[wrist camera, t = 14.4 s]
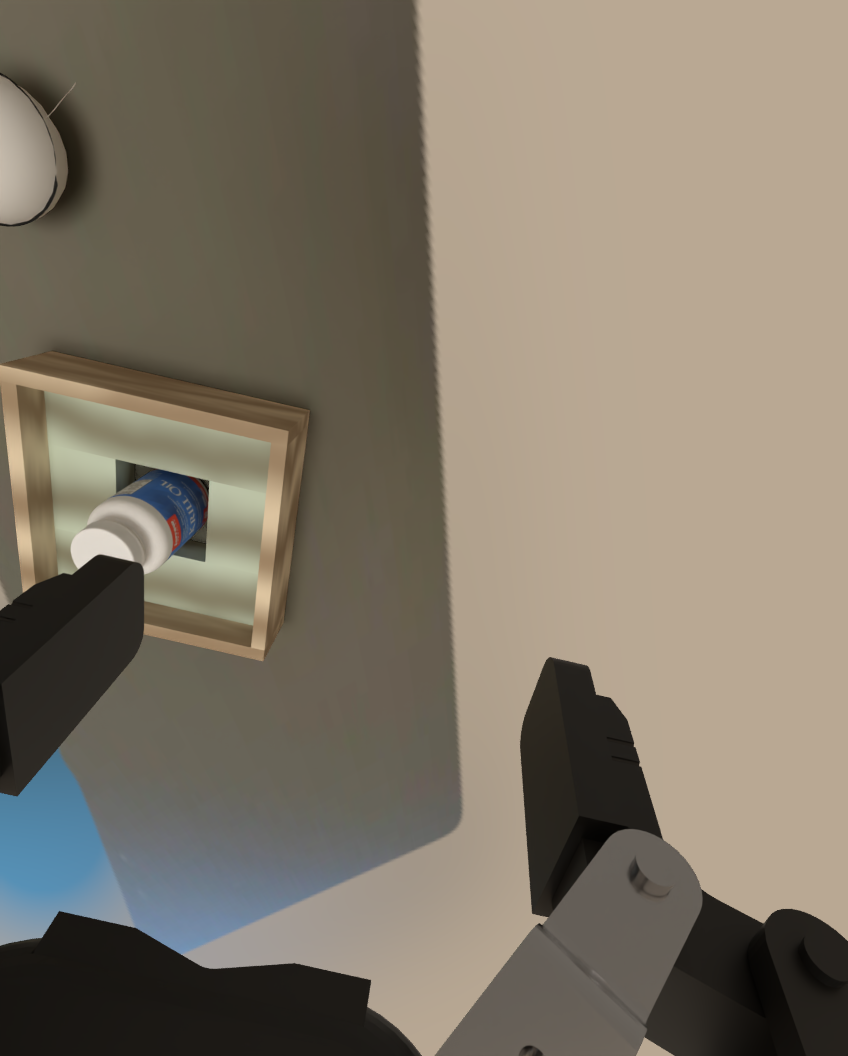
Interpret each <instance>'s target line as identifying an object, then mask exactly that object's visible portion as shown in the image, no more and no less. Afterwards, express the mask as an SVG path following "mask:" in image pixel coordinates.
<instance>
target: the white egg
mask: <svg viewBox="0 0 848 1056" xmlns="http://www.w3.org/2000/svg"><path fill="white" fill-rule="evenodd" d="M75 84H76V83H75ZM75 84H74V85H73V86H72V88H73V87H74V86H75ZM72 88H71V89H70V91H71V90H72ZM70 91H69V92H70ZM69 92H68V93H69ZM68 93H67V94H68ZM67 94H66V95H67ZM66 95H65V96H66ZM65 96H64V97H63V98H62V99H61V101H62V100H63V99H64V98H65ZM61 101H60V102H61ZM60 102H59V103H58V104H57V106H58V105H59V104H60ZM57 106H56V107H55V108H54V110H55V109H56V108H57ZM54 110H53V111H54ZM53 111H52V112H53ZM52 112H51V113H52ZM51 113H50V114H51ZM50 114H49V115H47V113H46V112H45V110H44V109H43V107H42V106H41V105H40V104H39V103H38V102H37V101H36V100H35V99H34V98H33V97H32V96H31V95H30V94H29V93H28V92H27V91H26V90H25V89H24V88H22V87H20V86H19V85H17V84H16V83H15V82H13V81H12V80H11V79H9V78H8V77H7V76H5V75H3V74H2V73H0V225H1V226H21V225H25V224H28V223H30V222H32V221H34V220H36V219H38V218H41V217H42V216H44V215H45V214H46V213H48V212H49V211H50V210H52V209H53V208H54V207H55V205H56V203H57V202H58V200H59V198H60V196H61V194H62V193H63V191H64V189H65V187H66V181H67V175H68V164H67V155H66V150H65V148H64V145H63V142H62V139H61V137H60V134H59V132H58V130H57V129H56V127H55V126H54V124H53V122H52V121H51V119H50V118H49V116H50Z"/></svg>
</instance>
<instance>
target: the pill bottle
mask: <svg viewBox="0 0 848 1056" xmlns="http://www.w3.org/2000/svg"><path fill="white" fill-rule="evenodd" d="M208 501H209V494H208V491H207V489H206V488H205V486H204V484H203V483H202V482H201V481H200V480H199V479H198V478H196V477H191V476H187V475H182V474H178V473H174V472H169V471H165V470H161V469H154V470H152V471H150V472H149V473H147V474H146V475H144V476H142V477H141V478H139V479H138V480H136V481H135V482H133V483H132V484H130V485H129V486H127V487H125V488H124V489H122V490H121V491H119V492H118V493H116V494H115V495H113V496H112V497H110V498H108V499H107V500H106V501H104V502H103V503H101V504H100V505H98V506H97V507H96V508H95V509H94V510H93V511H92V513H91V514H90V516H89V519H88V522H87V526H86V527H85V528H84V529H83V530H81V531H80V532H79V533H77V534H76V535H75V537H74V538H73V540H72V543H71V556H72V559H73V561H74V563H75V565H76V567H77V568H78V569H79V568H81V567H82V566H83V565H84V564H86V563H87V562H88V561H89V560H91V559H92V558H93V557H95V556H96V555H99V554H102V555H107V556H111V557H116V558H120V559H125V560H129V561H133V562H138V563H140V564H141V565H142V566H143V569H144V574H148V573H151V572H153V571H155V570H156V569H158V568H159V567H160V566H162V565H163V564H164V563H165V562H166V561H167V560H168V559H169V558H170V557H171V556H172V555H173V554H174V553H175V552H176V551H178V550H179V549H180V548H181V547H182V546H183V545H184V544H185V543H186V542H187V541H188V540H189V539H190V538H191V537H192V536H193V535H194V534H195V533H196V532H197V531H198V530H199V529H200V528H201V527H202V526H203V525H204V524H205V523H206V521H207V520H208Z"/></svg>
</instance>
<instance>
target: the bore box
mask: <svg viewBox="0 0 848 1056" xmlns="http://www.w3.org/2000/svg"><path fill="white" fill-rule="evenodd" d="M0 385H1V394H2V403H3V413H4V422H5V431H6V440H7V449H8V458H9V468H10V477H11V486H12V495H13V504H14V513H15V523H16V532H17V541H18V550H19V559H20V568H21V578H22V587H23V593H24V592H25V591H27V590H28V589H29V588H30V587H32V586H33V585H34V584H37V583H39V582H42V581H44V580H47V579H49V578H52V577H54V576H57V575H59V574H62V573H67V574H71V575H72V574H73V573H75V572H76V571H77V570H78V568H77V567H76V565H75V563H74V561H73V559H72V556H71V543H72V540H73V538H74V537H75V535H76V534H77V533H79V532H80V531H81V530H83V529H84V528H85V527H86V526H87V522H88V519H89V516H90V514H91V513H92V511H93V510H94V509H95V508H96V507H97V506H98V505H100V504H101V503H103V502H104V501H106V500H107V499H108V498H110V497H112V496H113V495H115V494H116V493H118V492H119V491H121V490H122V489H124V488H125V487H127V486H129V485H130V484H132V483H133V482H135V464H139V465H143V466H147V467H152V468H156V469H161V470H165V471H169V472H174V473H178V474H182V475H187V476H191V477H196V478H200V479H204V480H209V501H208V521H207V540H206V544H204V543H200V542H196V541H191V540H188V541H187V542H186V543H185V544H184V545H183V546H182V547H181V548H180V549H179V550H178V551H176V552H175V553H174V554H173V555H172V556H171V557H170V558H169V559H168V560H167V561H166V562H165V563H164V564H163V565H162V566H160V567H159V568H158V569H156V570H155V571H153V572H151V573H148V574H144V633H143V634H145V635H150V636H154V637H158V638H163V639H167V640H172V641H176V642H181V643H185V644H189V645H194V646H198V647H203V648H207V649H212V650H216V651H220V652H225V653H229V654H234V655H238V656H243V657H247V658H251V659H256V660H260V661H264V659H265V657H266V655H267V653H268V651H269V649H270V647H271V645H272V644H273V642H274V640H275V638H276V636H277V634H278V632H279V630H280V628H281V626H282V625H283V623H284V615H285V607H286V599H287V591H288V583H289V575H290V567H291V559H292V551H293V543H294V535H295V527H296V519H297V511H298V503H299V495H300V487H301V479H302V471H303V463H304V455H305V447H306V439H307V431H308V423H309V415H310V410H307V409H302V408H298V407H294V406H289V405H285V404H281V403H276V402H272V401H267V400H263V399H259V398H254V397H250V396H246V395H241V394H237V393H233V392H228V391H224V390H220V389H215V388H211V387H207V386H202V385H198V384H193V383H189V382H185V381H180V380H176V379H172V378H167V377H163V376H159V375H154V374H150V373H146V372H141V371H137V370H133V369H128V368H124V367H119V366H115V365H111V364H106V363H102V362H98V361H93V360H89V359H85V358H80V357H76V356H72V355H67V354H63V353H59V352H54V351H50V352H46V353H42V354H38V355H34V356H30V357H26V358H22V359H18V360H14V361H10V362H6V363H2V364H0Z"/></svg>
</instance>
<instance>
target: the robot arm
mask: <svg viewBox="0 0 848 1056" xmlns="http://www.w3.org/2000/svg"><path fill="white" fill-rule="evenodd" d="M143 633H144V569H143V566H142V565H141V564H140V563H138V562H133V561H129V560H125V559H120V558H116V557H111V556H107V555H102V554H99V555H96V556H95V557H93V558H92V559H91V560H89V561H88V562H87V563H86V564H84V565H83V566H82V567H81V568H79V569H78V570H77V571H76V572H75V573H73V574H72V575H71V574H67V573H62V574H59V575H57V576H54V577H52V578H49V579H47V580H44V581H42V582H39V583H37V584H34V585H33V586H32V587H30V588H29V589H28V590H27V591H25V592H24V593H23V594H21V595H20V596H19V597H17V598H16V599H15V600H13V603H12V604H11V605H9V604H8V605H7V606H6V607H4V608H3V609H2V610H1V611H0V793H4V794H8V795H13V796H18V795H19V794H20V792H21V791H22V790H23V789H24V788H25V787H26V785H27V784H28V783H29V782H30V781H31V779H32V778H33V777H34V776H35V775H36V773H37V772H38V771H39V770H40V769H41V768H42V766H43V765H44V764H45V763H46V761H47V760H48V759H49V758H50V757H51V756H52V755H53V753H54V752H55V751H56V750H57V749H58V747H59V746H60V745H61V744H62V743H63V741H64V740H65V739H66V738H67V737H68V735H69V734H70V733H71V732H72V731H73V730H74V728H75V727H76V726H77V725H78V724H79V722H80V721H81V720H82V719H83V718H84V716H85V715H86V714H87V713H88V712H89V711H90V709H91V708H92V707H93V706H94V705H95V703H96V702H97V701H98V700H99V699H100V697H101V696H102V695H103V694H104V693H105V691H106V690H107V689H108V688H109V687H110V686H111V684H112V683H113V682H114V681H115V680H116V678H117V677H118V676H119V675H120V674H121V672H122V671H123V670H124V669H125V668H126V667H127V665H128V664H129V663H130V662H131V661H132V659H133V658H134V656H135V655H136V653H137V651H138V649H139V647H140V644H141V641H142V638H143ZM520 749H521V750H520V751H521V764H522V778H523V793H524V807H525V820H526V835H527V849H528V862H529V877H530V891H531V905H532V914H536V915H540V916H545V917H549V918H548V919H547V920H546V921H545V923H544V924H543V925H541V924H540V923H539V924H537V925H536V926H535V927H534V928H533V929H532V930H531V932H530V933H529V934H528V935H527V937H526V938H525V939H524V940H523V942H522V943H521V944H520V946H519V947H518V948H517V949H516V951H515V952H514V953H513V955H512V956H511V957H510V959H509V960H508V961H507V963H506V964H505V965H504V966H503V968H502V969H501V970H500V972H499V973H498V974H497V975H496V977H495V978H494V979H493V981H492V982H491V983H490V984H489V986H488V987H487V989H486V990H485V991H484V992H483V993H482V995H481V996H480V997H479V999H478V1000H477V1001H476V1003H475V1004H474V1005H473V1007H472V1008H471V1009H470V1010H469V1012H468V1013H467V1014H466V1016H465V1017H464V1018H463V1019H462V1021H461V1022H460V1023H459V1025H458V1026H457V1027H456V1029H455V1030H454V1031H453V1032H452V1034H451V1035H450V1037H449V1038H448V1039H447V1040H446V1042H445V1043H444V1044H443V1045H442V1047H441V1048H440V1049H439V1051H438V1052H437V1054H436V1055H435V1056H636V1054H637V1052H638V1050H639V1048H640V1046H641V1044H642V1041H643V1039H644V1037H645V1038H647V1039H648V1040H650V1041H652V1042H653V1043H655V1044H656V1045H658V1046H660V1047H661V1048H663V1049H665V1050H666V1051H668V1052H670V1053H671V1054H673V1055H674V1056H848V941H847V940H846V939H845V938H844V937H843V936H842V935H840V934H839V933H838V932H837V931H836V930H834V929H833V928H831V927H830V926H829V925H828V924H826V923H824V922H823V921H821V920H820V919H818V918H816V917H814V916H812V915H810V914H808V913H805V912H802V911H798V910H793V909H781V910H777V911H775V912H774V913H772V914H771V915H770V916H769V918H768V919H767V920H766V922H765V923H764V924H763V923H761V922H759V921H757V920H755V919H753V918H751V917H749V916H748V915H745V914H744V913H742V912H740V911H738V910H736V909H734V908H732V907H730V906H729V905H727V904H725V903H723V902H721V901H719V900H717V899H716V898H714V897H712V896H710V895H709V894H707V893H706V892H704V891H703V890H702V889H701V887H700V884H699V881H698V879H697V876H696V874H695V873H694V871H693V869H692V868H691V866H690V865H689V864H688V862H687V861H686V860H685V858H684V857H683V856H682V855H680V853H679V852H678V851H677V850H676V849H675V848H673V847H672V846H671V845H670V844H668V843H667V842H665V841H664V840H663V838H662V835H661V831H660V828H659V825H658V821H657V818H656V815H655V811H654V808H653V804H652V801H651V798H650V795H649V791H648V788H647V784H646V781H645V778H644V774H643V771H642V768H641V767H640V766H639V763H640V761H639V758H638V754H637V751H636V748H635V747H634V741H633V738H632V735H631V731H630V728H629V724H628V721H627V719H626V718H625V716H624V715H623V714H622V713H621V711H620V710H619V709H618V707H617V706H616V704H615V703H614V702H613V701H612V699H611V698H609V697H604V696H599V695H596V692H595V688H594V685H593V680H592V677H591V672H590V669H589V667H588V666H586V665H582V664H577V663H573V662H569V661H565V660H560V659H556V658H551V657H549V658H548V659H547V660H546V662H545V664H544V667H543V669H542V672H541V674H540V677H539V680H538V682H537V685H536V688H535V690H534V693H533V696H532V698H531V701H530V704H529V706H528V709H527V712H526V715H525V717H524V721H523V725H522V731H521V741H520ZM370 985H371V980H368V979H363V978H359V977H354V976H349V975H345V974H341V973H336V972H331V971H327V970H322V969H318V968H313V967H309V966H305V965H300V964H295V963H293V964H279V965H265V966H250V967H236V968H221V969H209V968H204V967H202V966H200V965H198V964H196V963H194V962H193V961H191V960H189V959H188V958H186V957H184V956H183V955H181V954H179V953H177V952H176V951H174V950H172V949H171V948H169V947H167V946H166V945H164V944H162V943H160V942H159V941H157V940H155V939H154V938H152V937H150V936H148V935H147V934H145V933H143V932H142V931H140V930H138V929H137V928H133V927H128V926H124V925H119V924H115V923H110V922H106V921H101V920H97V919H92V918H88V917H83V916H79V915H74V914H70V913H64V912H60V911H59V912H58V914H57V916H56V917H55V918H54V920H53V922H52V923H51V925H50V926H49V928H48V930H47V931H46V933H45V934H44V936H43V937H42V938H38V939H37V938H36V939H30V940H24V941H19V942H14V943H8V944H5V945H1V946H0V1056H422V1055H421V1054H420V1053H419V1051H418V1050H417V1049H416V1048H415V1046H414V1045H413V1044H412V1043H411V1042H410V1041H409V1040H408V1039H407V1037H405V1035H404V1034H402V1032H401V1031H400V1030H399V1029H398V1028H397V1027H395V1026H394V1025H393V1024H391V1023H390V1022H389V1021H387V1020H386V1019H385V1018H384V1017H383V1016H381V1015H380V1014H378V1013H376V1012H375V1011H373V1010H371V1009H370V1008H368V1007H367V1004H368V998H369V991H370Z"/></svg>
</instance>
